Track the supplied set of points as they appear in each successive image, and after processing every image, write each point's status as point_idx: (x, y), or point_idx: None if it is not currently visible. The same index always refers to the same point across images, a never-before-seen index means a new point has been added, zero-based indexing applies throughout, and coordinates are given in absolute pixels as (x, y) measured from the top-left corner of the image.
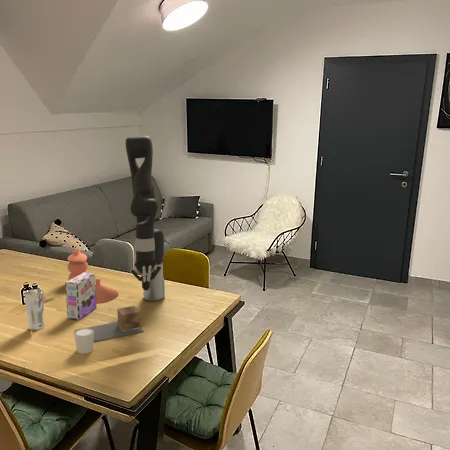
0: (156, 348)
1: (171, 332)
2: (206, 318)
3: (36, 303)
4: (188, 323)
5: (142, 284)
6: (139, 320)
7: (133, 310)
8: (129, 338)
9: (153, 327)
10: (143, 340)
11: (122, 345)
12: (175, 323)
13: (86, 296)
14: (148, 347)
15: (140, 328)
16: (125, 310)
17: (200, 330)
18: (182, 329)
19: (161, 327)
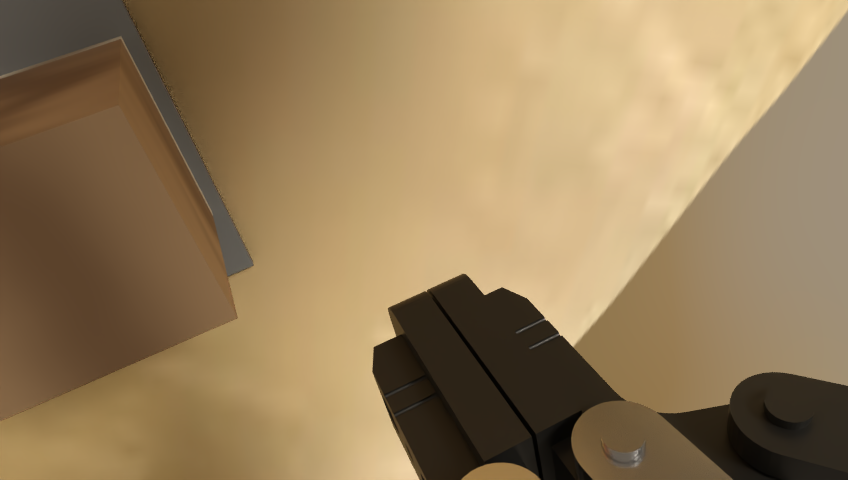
0: (355, 462)
1: (477, 265)
2: (774, 37)
3: None
4: (629, 118)
5: (414, 464)
6: (220, 255)
7: (143, 281)
8: (134, 372)
9: (344, 176)
10: (262, 388)
11: (96, 470)
12: (538, 108)
13: None
14: (303, 461)
15: (219, 220)
16: (2, 286)
17: (657, 235)
18: (559, 219)
19: (414, 180)
